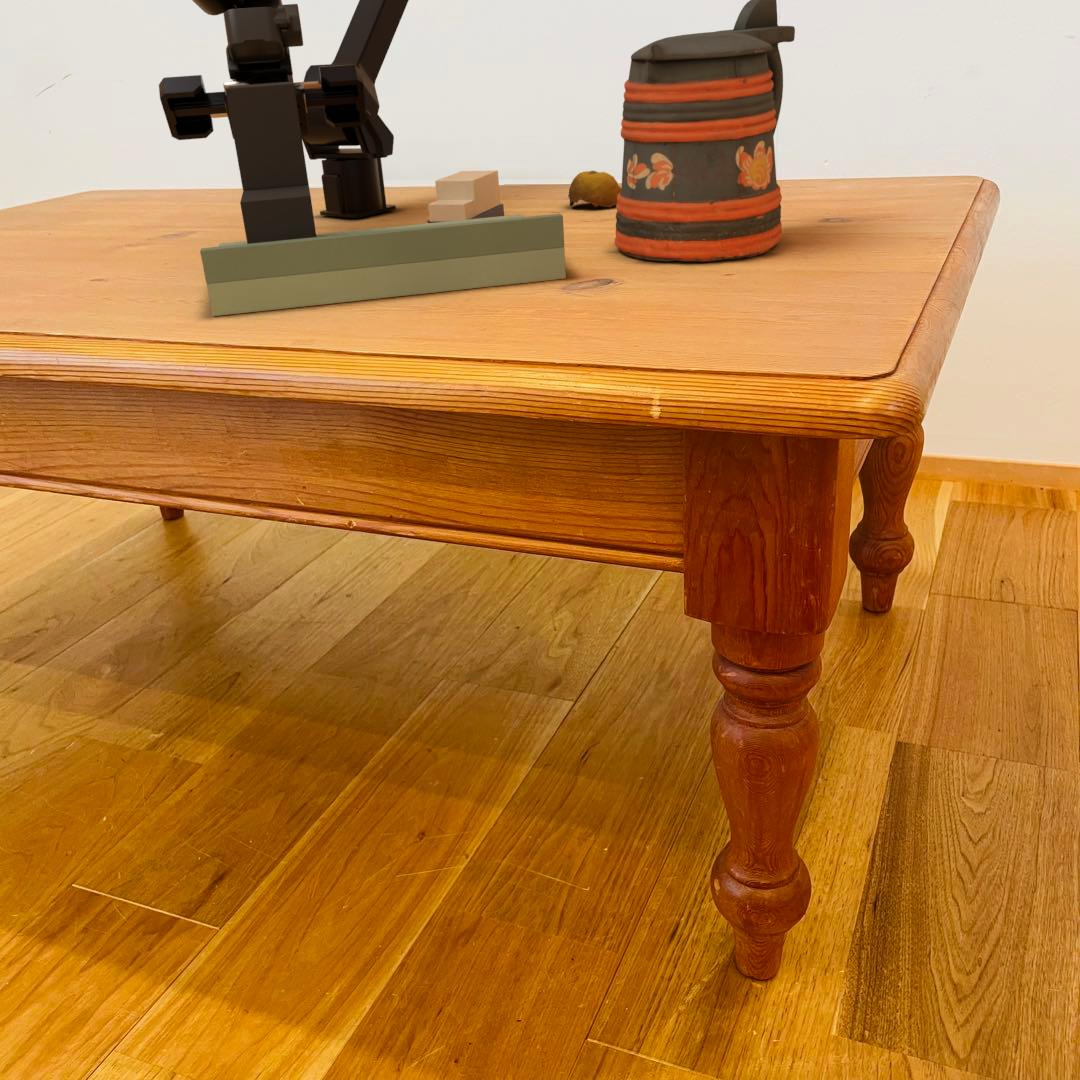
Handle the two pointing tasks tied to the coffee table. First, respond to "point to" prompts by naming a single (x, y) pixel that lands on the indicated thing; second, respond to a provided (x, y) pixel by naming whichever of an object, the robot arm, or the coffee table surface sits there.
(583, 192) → the fruit
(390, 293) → the olive green plank
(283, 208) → the dark notched upright block
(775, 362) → the coffee table surface
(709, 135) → the beer stein
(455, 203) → the stepped wooden block stack
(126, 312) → the coffee table surface
